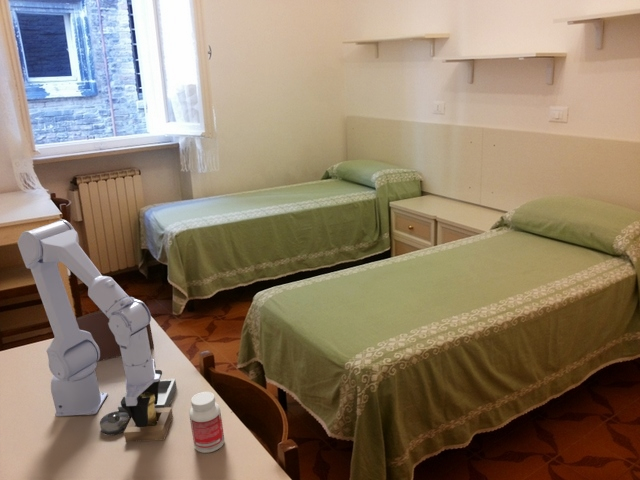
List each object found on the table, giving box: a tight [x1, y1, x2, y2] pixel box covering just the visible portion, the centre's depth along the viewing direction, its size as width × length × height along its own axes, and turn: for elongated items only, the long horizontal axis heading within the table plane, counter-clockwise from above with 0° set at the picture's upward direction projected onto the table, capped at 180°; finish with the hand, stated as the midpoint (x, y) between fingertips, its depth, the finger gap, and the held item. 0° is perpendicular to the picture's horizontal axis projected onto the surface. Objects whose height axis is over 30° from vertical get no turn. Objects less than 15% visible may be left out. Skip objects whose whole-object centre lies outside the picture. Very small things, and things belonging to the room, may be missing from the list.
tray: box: [117, 378, 177, 418], centre depth 132 cm, size 10×10×3 cm
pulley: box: [99, 410, 130, 436], centre depth 124 cm, size 6×6×3 cm
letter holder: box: [75, 309, 155, 362], centre depth 155 cm, size 10×20×14 cm, turn 113°
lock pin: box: [140, 392, 157, 426], centre depth 121 cm, size 4×4×8 cm
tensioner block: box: [123, 406, 174, 443], centre depth 122 cm, size 8×8×2 cm
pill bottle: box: [188, 391, 225, 454], centre depth 115 cm, size 6×6×11 cm
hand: (147, 414), depth 122 cm, fingers open, 7 cm apart
